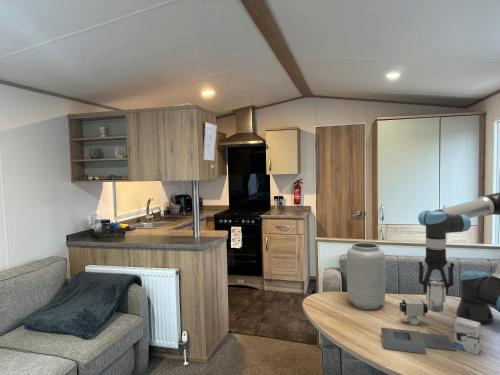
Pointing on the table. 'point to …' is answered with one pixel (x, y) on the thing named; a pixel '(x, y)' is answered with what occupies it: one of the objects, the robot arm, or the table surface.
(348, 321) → the table surface
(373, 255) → the vase
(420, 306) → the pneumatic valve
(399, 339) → the frame
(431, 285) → the grey bottle
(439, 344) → the mat
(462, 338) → the ink box
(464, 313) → the robot arm
